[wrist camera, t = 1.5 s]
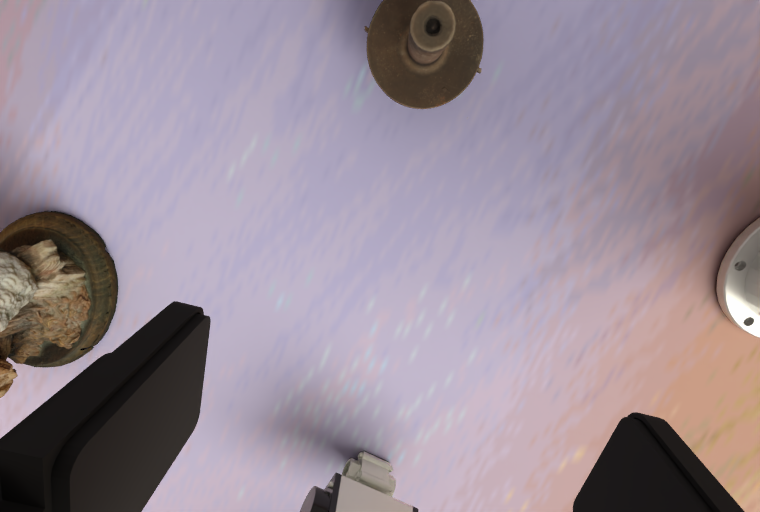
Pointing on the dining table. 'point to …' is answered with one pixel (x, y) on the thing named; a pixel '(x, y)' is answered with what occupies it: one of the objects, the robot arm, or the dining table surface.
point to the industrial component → (424, 50)
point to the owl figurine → (52, 292)
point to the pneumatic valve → (358, 489)
